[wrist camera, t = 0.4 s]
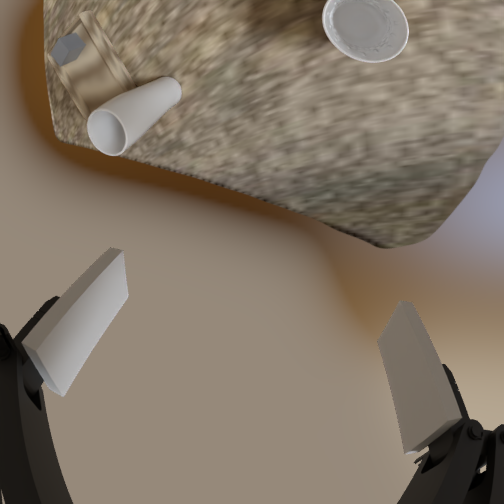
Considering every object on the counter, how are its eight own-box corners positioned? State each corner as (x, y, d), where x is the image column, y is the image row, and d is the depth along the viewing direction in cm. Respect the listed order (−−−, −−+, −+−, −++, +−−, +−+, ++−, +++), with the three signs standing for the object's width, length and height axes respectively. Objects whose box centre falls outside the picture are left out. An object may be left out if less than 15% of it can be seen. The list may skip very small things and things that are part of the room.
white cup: (327, 48, 26) (323, 57, 20) (323, -7, 20) (318, -17, 14) (389, 56, 24) (407, 69, 18) (389, 1, 18) (408, -5, 12)
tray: (55, 51, 31) (46, 55, 29) (91, 9, 25) (81, 12, 23) (99, 123, 43) (91, 129, 42) (141, 93, 37) (132, 99, 36)
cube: (66, 47, 30) (50, 54, 27) (75, 32, 27) (58, 38, 25) (76, 59, 32) (60, 66, 29) (86, 44, 29) (69, 51, 27)
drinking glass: (175, 64, 32) (108, 98, 23) (194, 100, 37) (137, 146, 27) (143, 82, 35) (78, 122, 26) (162, 115, 40) (104, 163, 30)
